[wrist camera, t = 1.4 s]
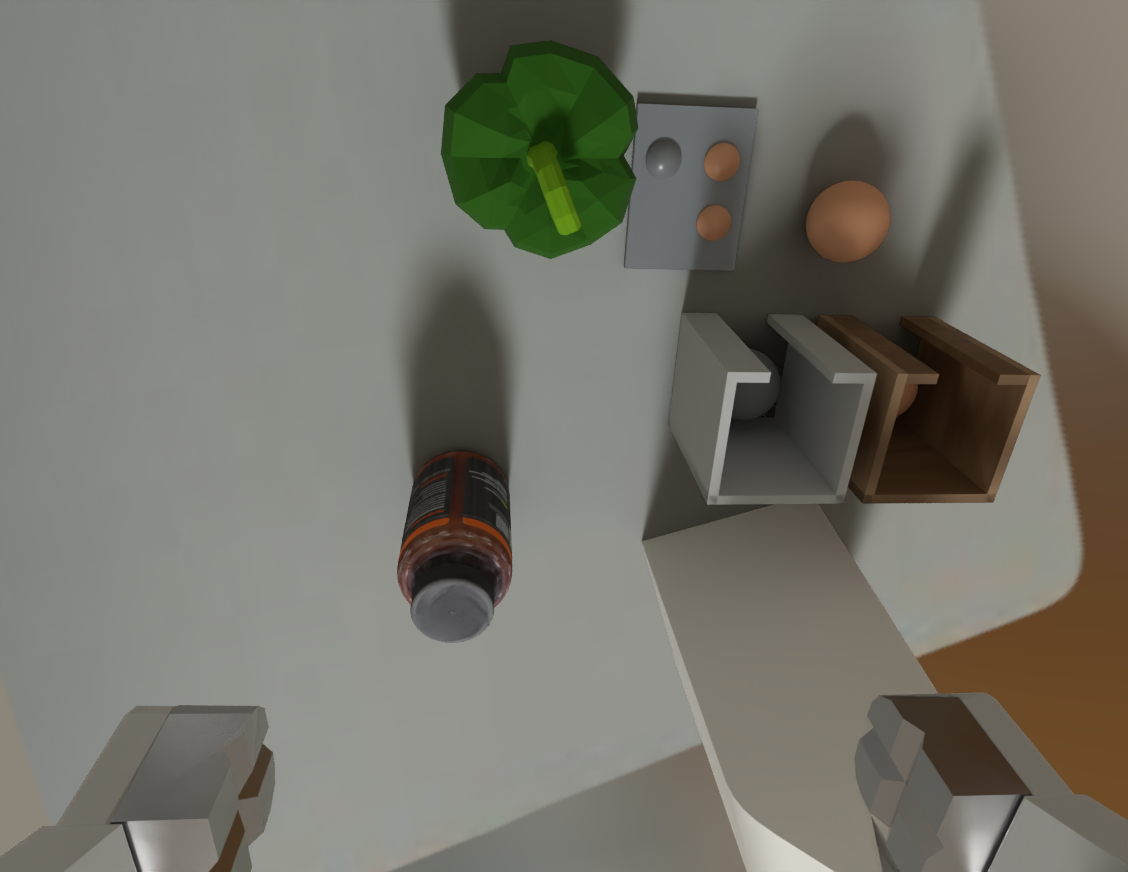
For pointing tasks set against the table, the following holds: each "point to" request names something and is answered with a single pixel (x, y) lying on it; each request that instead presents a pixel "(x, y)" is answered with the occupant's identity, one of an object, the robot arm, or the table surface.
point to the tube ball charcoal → (757, 393)
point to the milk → (783, 680)
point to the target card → (688, 186)
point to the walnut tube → (934, 414)
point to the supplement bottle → (456, 546)
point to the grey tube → (768, 445)
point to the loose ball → (848, 221)
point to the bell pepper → (542, 148)
